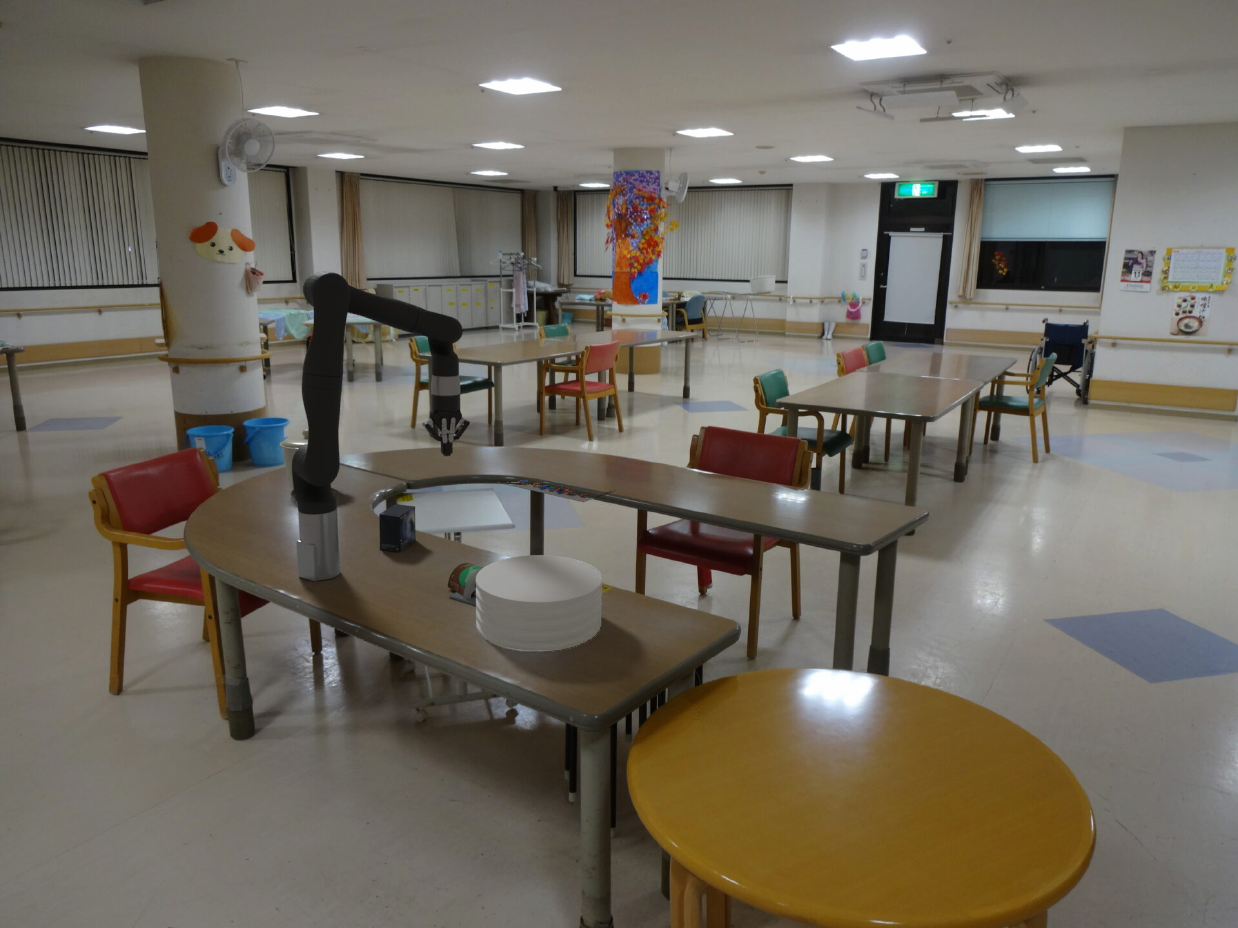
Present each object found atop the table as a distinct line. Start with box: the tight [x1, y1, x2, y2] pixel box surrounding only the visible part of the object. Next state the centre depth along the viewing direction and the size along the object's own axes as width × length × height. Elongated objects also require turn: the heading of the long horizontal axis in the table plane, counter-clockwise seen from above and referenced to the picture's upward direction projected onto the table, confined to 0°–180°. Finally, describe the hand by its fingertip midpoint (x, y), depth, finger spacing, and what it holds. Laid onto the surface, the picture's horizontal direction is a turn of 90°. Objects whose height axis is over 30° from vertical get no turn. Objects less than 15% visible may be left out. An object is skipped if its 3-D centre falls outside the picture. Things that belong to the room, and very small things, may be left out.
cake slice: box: [447, 562, 485, 600], centre depth 210 cm, size 12×6×10 cm
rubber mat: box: [449, 591, 476, 607], centre depth 211 cm, size 18×10×1 cm, turn 149°
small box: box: [378, 503, 417, 553], centre depth 239 cm, size 11×6×10 cm, turn 168°
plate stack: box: [475, 554, 603, 650], centre depth 192 cm, size 28×28×12 cm
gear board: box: [496, 480, 595, 503], centre depth 306 cm, size 45×2×19 cm
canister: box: [279, 428, 333, 492], centre depth 288 cm, size 18×18×21 cm
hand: (446, 455), depth 231 cm, fingers closed
